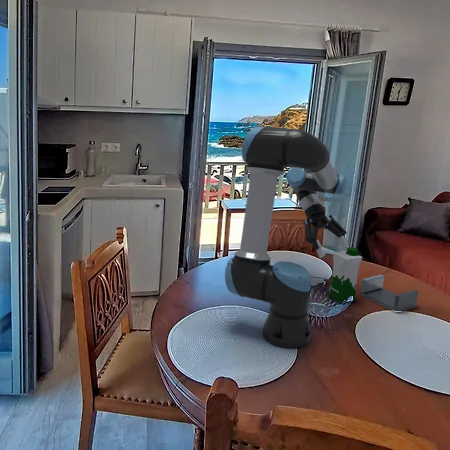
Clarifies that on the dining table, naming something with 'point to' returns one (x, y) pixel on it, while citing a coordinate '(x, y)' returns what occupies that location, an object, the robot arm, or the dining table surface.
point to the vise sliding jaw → (372, 283)
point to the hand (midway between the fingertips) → (335, 254)
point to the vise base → (392, 299)
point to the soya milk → (345, 274)
